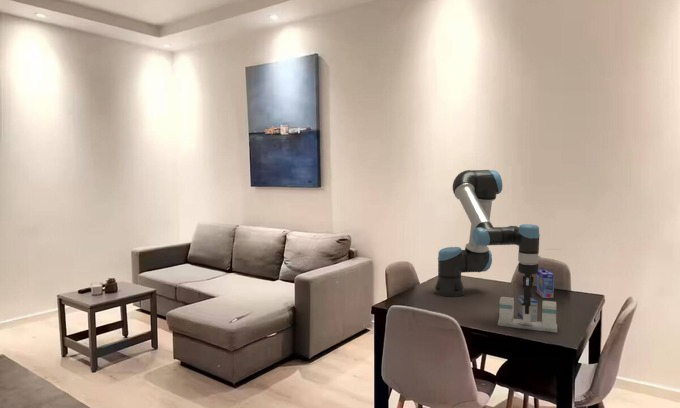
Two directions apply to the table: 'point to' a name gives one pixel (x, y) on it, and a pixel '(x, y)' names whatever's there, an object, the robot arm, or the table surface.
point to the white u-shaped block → (508, 320)
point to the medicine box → (533, 308)
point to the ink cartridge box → (545, 283)
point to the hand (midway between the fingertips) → (527, 317)
